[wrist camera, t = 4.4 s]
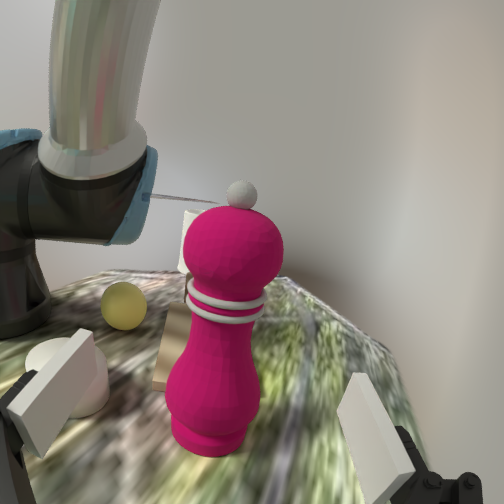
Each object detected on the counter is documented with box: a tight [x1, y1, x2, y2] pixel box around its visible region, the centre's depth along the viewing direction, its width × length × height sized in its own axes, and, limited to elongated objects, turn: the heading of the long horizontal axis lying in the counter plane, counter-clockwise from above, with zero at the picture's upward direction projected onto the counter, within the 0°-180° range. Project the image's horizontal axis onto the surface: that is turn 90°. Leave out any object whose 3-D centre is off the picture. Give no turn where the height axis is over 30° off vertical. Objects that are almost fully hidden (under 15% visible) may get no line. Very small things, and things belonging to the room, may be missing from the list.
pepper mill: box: [165, 181, 284, 457], centre depth 19 cm, size 7×7×20 cm
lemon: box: [100, 282, 147, 330], centre depth 34 cm, size 6×6×6 cm
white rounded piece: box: [25, 338, 110, 418], centre depth 22 cm, size 8×8×4 cm
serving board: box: [153, 302, 192, 392], centre depth 35 cm, size 18×10×1 cm, turn 8°
